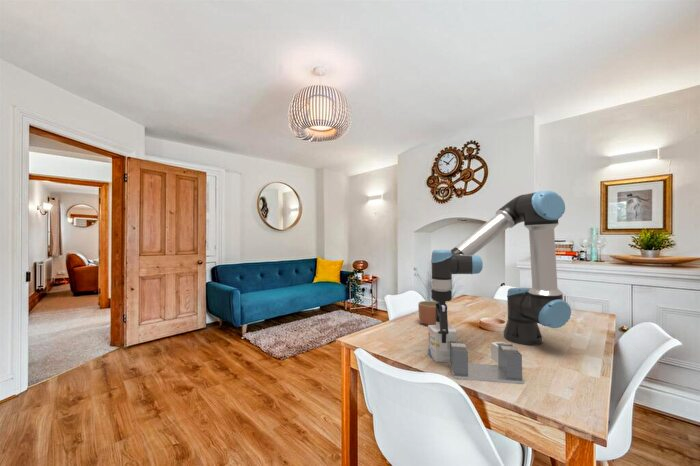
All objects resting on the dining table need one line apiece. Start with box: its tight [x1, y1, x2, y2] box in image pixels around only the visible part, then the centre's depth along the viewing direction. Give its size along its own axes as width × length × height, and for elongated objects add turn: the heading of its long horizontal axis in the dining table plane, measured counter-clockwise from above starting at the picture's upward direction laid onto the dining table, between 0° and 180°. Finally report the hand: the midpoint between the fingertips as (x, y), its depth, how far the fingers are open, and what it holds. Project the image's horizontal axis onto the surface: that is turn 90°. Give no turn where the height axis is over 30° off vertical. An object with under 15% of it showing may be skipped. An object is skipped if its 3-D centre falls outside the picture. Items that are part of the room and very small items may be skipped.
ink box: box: [427, 324, 458, 363], centre depth 114 cm, size 9×8×12 cm
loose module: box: [490, 341, 507, 363], centre depth 110 cm, size 5×7×6 cm
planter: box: [417, 300, 437, 326], centre depth 155 cm, size 12×12×11 cm
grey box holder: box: [449, 341, 524, 385], centre depth 101 cm, size 21×11×9 cm, turn 79°
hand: (441, 344), depth 114 cm, fingers open, 13 cm apart
